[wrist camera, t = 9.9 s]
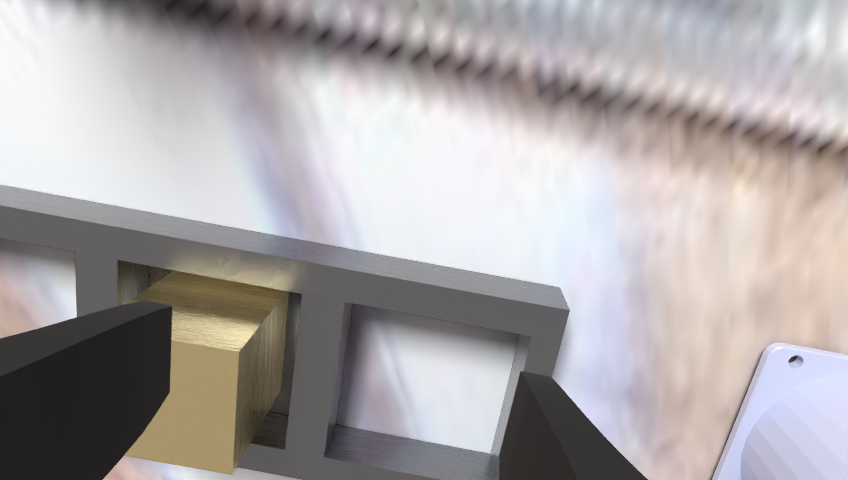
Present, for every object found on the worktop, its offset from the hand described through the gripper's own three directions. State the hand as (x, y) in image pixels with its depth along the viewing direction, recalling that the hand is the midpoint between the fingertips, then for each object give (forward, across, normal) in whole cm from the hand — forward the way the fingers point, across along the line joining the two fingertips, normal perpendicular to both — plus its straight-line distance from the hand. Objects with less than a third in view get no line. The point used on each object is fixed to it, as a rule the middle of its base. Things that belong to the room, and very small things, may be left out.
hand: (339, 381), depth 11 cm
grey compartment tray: (+9, +6, +5) cm, 12 cm away
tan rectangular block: (+10, +6, +5) cm, 12 cm away
